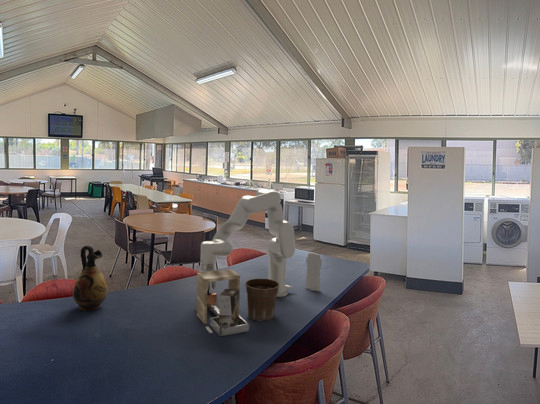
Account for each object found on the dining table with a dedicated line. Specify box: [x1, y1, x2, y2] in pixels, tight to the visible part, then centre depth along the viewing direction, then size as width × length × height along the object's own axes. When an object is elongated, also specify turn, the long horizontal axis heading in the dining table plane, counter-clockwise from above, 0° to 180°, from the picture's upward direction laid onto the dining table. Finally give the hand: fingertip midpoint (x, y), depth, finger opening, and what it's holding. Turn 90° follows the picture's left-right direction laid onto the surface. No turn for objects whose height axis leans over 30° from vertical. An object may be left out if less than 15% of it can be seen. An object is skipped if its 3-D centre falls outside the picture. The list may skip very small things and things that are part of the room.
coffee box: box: [218, 288, 239, 328], centre depth 166 cm, size 9×6×16 cm
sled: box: [207, 293, 250, 337], centre depth 174 cm, size 13×33×6 cm, turn 28°
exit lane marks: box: [205, 326, 213, 334], centre depth 167 cm, size 18×6×1 cm, turn 118°
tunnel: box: [196, 268, 241, 325], centre depth 177 cm, size 17×11×20 cm, turn 118°
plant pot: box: [244, 277, 280, 322], centre depth 179 cm, size 16×16×16 cm
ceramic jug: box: [72, 244, 108, 312], centre depth 184 cm, size 17×15×30 cm
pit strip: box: [193, 305, 219, 313], centre depth 188 cm, size 16×3×1 cm, turn 118°
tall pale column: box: [305, 252, 323, 292], centre depth 221 cm, size 11×4×22 cm, turn 51°
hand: (207, 301), depth 192 cm, fingers closed
